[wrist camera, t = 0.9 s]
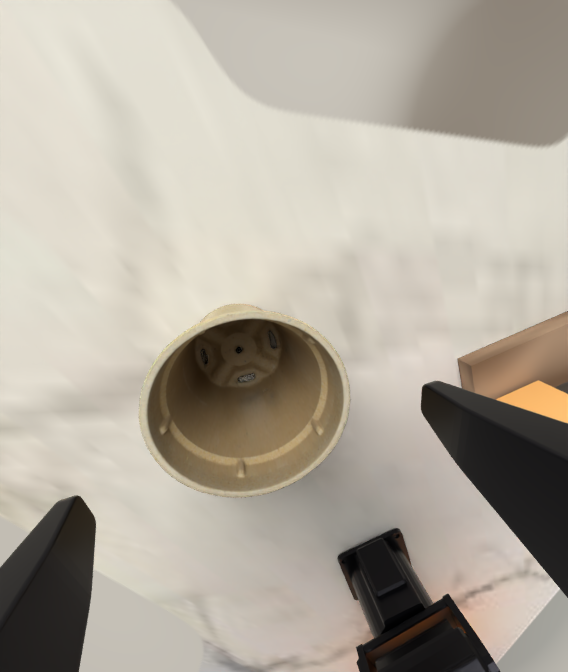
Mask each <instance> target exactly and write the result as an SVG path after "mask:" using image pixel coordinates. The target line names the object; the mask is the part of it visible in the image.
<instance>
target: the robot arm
mask: <svg viewBox="0 0 568 672" xmlns="http://www.w3.org/2000/svg"><path fill="white" fill-rule="evenodd" d="M421 411H422V413H423V415H424V417H425V419H426V420H427V421H428V423H429V424H430V426H431V427H432V429H433V430H434V432H435V433H436V435H437V436H438V438H439V439H440V441H441V442H442V444H443V445H444V447H445V448H446V450H447V451H448V453H449V454H450V455H451V457H452V458H453V460H454V461H455V462H456V464H457V465H458V466H459V467H460V469H461V470H462V471H463V472H464V473H465V475H466V476H467V477H468V478H469V480H470V481H471V482H472V483H473V484H474V486H475V487H476V488H477V489H478V490H479V492H480V493H481V494H482V495H483V496H484V498H485V499H486V500H487V501H488V502H489V504H490V505H491V506H492V507H493V508H494V510H495V511H496V512H497V513H498V514H499V516H500V517H501V518H502V519H503V520H504V522H505V523H506V524H507V525H508V526H509V528H510V529H511V530H512V531H513V532H514V534H515V535H516V536H517V537H518V538H519V540H520V541H521V542H522V543H523V544H524V546H525V547H526V548H527V549H528V551H529V552H530V553H531V554H532V555H533V557H534V558H535V559H536V560H537V561H538V563H539V564H540V565H541V566H542V567H543V569H544V570H545V571H546V572H547V573H548V575H549V576H550V577H551V578H552V579H553V581H554V582H555V583H556V584H557V585H558V587H559V588H560V589H561V590H562V591H563V593H564V594H565V595H566V596H567V597H568V423H565V422H562V421H559V420H556V419H553V418H550V417H547V416H544V415H541V414H538V413H535V412H532V411H529V410H526V409H523V408H520V407H517V406H514V405H510V404H507V403H504V402H501V401H498V400H495V399H492V398H489V397H486V396H483V395H480V394H477V393H474V392H471V391H468V390H465V389H462V388H459V387H456V386H453V385H450V384H447V383H444V382H440V381H433V382H430V383H427V384H425V385H423V387H422V396H421ZM95 533H96V521H95V518H94V515H93V514H92V512H91V511H90V509H89V508H88V506H87V505H86V503H85V502H84V501H83V499H82V498H81V497H80V496H78V495H77V496H72V497H69V498H66V499H62V500H60V501H58V502H57V503H56V504H55V505H54V506H53V507H52V508H51V509H50V511H49V512H48V513H47V514H46V515H45V516H44V518H43V519H42V520H41V521H40V522H39V523H38V524H37V526H36V527H35V528H34V529H33V530H32V531H31V533H30V534H29V535H28V536H27V537H26V538H25V540H24V541H23V542H22V543H21V544H20V545H19V546H18V548H17V549H16V550H15V551H14V552H13V553H12V555H11V556H10V557H9V558H8V559H7V560H6V562H5V563H4V564H3V565H2V566H1V567H0V672H79V667H80V661H81V655H82V649H83V643H84V637H85V630H86V625H87V619H88V613H89V607H90V600H91V591H92V578H93V564H94V548H95ZM338 561H339V564H340V566H341V569H342V571H343V574H344V576H345V578H346V581H347V583H348V585H349V588H350V590H351V593H352V595H353V597H354V599H355V600H359V602H360V605H361V607H362V610H363V612H364V615H365V617H366V620H367V622H368V625H369V627H370V630H371V632H372V635H373V637H374V639H372V640H371V641H369V642H367V643H365V644H364V645H362V644H361V645H359V646H357V647H356V649H357V652H358V656H359V659H358V661H357V665H358V668H359V671H360V672H500V670H499V668H498V667H497V665H496V664H495V662H494V660H493V659H492V657H491V656H490V654H489V652H488V651H487V649H486V648H485V646H484V645H483V643H482V642H481V640H480V639H479V637H478V636H477V635H476V633H475V632H474V630H473V629H472V627H471V626H470V625H469V623H468V622H467V620H466V619H465V617H464V616H463V614H462V613H461V612H460V610H459V609H458V607H457V606H456V604H455V603H454V601H453V600H452V599H451V597H450V596H449V594H446V595H445V596H443V598H442V599H441V600H439V601H437V602H436V603H434V604H433V602H432V600H431V599H430V597H429V595H428V593H427V592H426V590H425V588H424V587H423V585H422V583H421V582H420V580H419V578H418V577H417V575H416V573H415V571H414V570H413V568H412V566H411V562H410V559H409V556H408V552H407V549H406V545H405V542H404V539H403V535H402V533H401V531H400V530H399V529H393V530H391V531H389V532H387V533H385V534H383V535H381V536H378V537H376V538H374V539H372V540H370V541H368V542H366V543H364V544H361V545H359V546H357V547H355V548H353V549H351V550H349V551H347V552H344V553H342V554H341V555H339V556H338Z"/></svg>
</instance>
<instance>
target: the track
mask: <svg viewBox="0 0 568 672" xmlns="http://www.w3.org/2000/svg"><path fill="white" fill-rule="evenodd" d="M458 363H459V370H460V376H461V382H462V389H465V390H468V391H471V392H474V393H477V394H480V395H483V396H486V397H489V398H492V399H498V398H500V397H502V396H504V395H507V394H509V393H511V392H513V391H515V390H518V389H520V388H522V387H524V386H527V385H529V384H531V383H533V382H536V381H538V380H539V381H541V382H543V383H545V384H548V385H550V386H552V387H554V388H556V389H558V390H560V391H562V392H565V393H567V394H568V311H567V312H565V313H562V314H560V315H558V316H555V317H553V318H551V319H549V320H546V321H544V322H542V323H539V324H537V325H535V326H532V327H530V328H528V329H525V330H523V331H521V332H518V333H516V334H514V335H511V336H509V337H507V338H505V339H502V340H500V341H498V342H495V343H493V344H491V345H488V346H486V347H484V348H481V349H479V350H477V351H474V352H472V353H470V354H467V355H465V356H463V357H461V358H458Z"/></svg>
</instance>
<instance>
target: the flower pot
mask: <svg viewBox="0 0 568 672" xmlns="http://www.w3.org/2000/svg"><path fill="white" fill-rule="evenodd" d="M270 331H271V332H272V334H273V335H274V337H275V340H276V348H274V349H273V348H272V347H271V346H270V338H269V335H268V332H270ZM237 347H241V348H242V352H241V353H237V352H236V348H237ZM202 349H204V350H205V353H206V355H208V356H207V361H208V363H207V364H204V361H203V358H202V356H201V351H202ZM252 373H253V374H254V375H255V378H254V379H253V380H250V381H243V382H239V381H238V378H239V377H242V376H245V375H249V374H252ZM349 405H350V387H349V381H348V377H347V373H346V370H345V367H344V364H343V362H342V360H341V358H340V357H339V355H338V353H337V352H336V350H335V349H334V348H333V346H332V345H331V344H330V343H329V342H328V341H327V340H326V339H325V338H324V337H323V336H322V335H321V334H320V333H319V332H318V331H316V330H315V329H314V328H312V327H311V326H309V325H308V324H306V323H304V322H302V321H300V320H298V319H295V318H293V317H290V316H287V315H284V314H280V313H276V312H269V311H263V310H261V309H259V308H257V307H254V306H251V305H246V304H231V305H226V306H223V307H220V308H218V309H216V310H214V311H213V312H211V313H209V314H208V315H207V316H206V317H205V318H204V319H203V320H202V321H201V322H200V323H199V324H197V325H195V326H193V327H191V328H190V329H188V330H187V331H185V332H184V333H182V334H181V335H180V336H178V337H177V338H176V339H175V340H173V341H172V342H171V343H170V344H169V345H168V346H167V347H166V348H165V349H164V350H163V351H162V352H161V354H160V355H159V356H158V358H157V359H156V360H155V362H154V363H153V365H152V367H151V369H150V370H149V372H148V375H147V377H146V379H145V382H144V385H143V387H142V391H141V396H140V402H139V422H140V427H141V433H142V436H143V438H144V442H145V444H146V446H147V448H148V449H149V451H150V454H151V455H152V456H153V457H154V459H155V460H156V461H157V463H158V464H159V465H160V466H161V467H162V468H163V470H165V471H166V472H167V473H168V474H169V475H170V476H171V477H173V478H175V479H176V480H177V481H179V482H180V483H182V484H184V485H186V486H187V487H191V488H193V489H194V490H197V491H200V492H203V493H207V494H211V495H215V496H223V497H233V498H235V497H240V498H242V497H252V496H259V495H263V494H267V493H271V492H274V491H276V490H279V489H281V488H284V487H286V486H288V485H290V484H292V483H294V482H296V481H298V480H300V479H301V478H303V477H304V476H305V475H307V474H308V473H309V472H310V471H311V470H313V469H315V468H316V467H317V466H318V465H319V464H320V463H322V461H323V460H325V459H326V458H327V456H328V455H329V454H330V452H331V451H332V450H333V448H334V447H335V445H336V444H337V442H338V441H339V439H340V436H341V435H342V432H343V430H344V427H345V425H346V422H347V418H348V414H349Z"/></svg>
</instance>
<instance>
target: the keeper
mask: <svg viewBox="0 0 568 672" xmlns="http://www.w3.org/2000/svg"><path fill="white" fill-rule="evenodd" d="M495 400H498V401H501V402H504V403H507V404H510V405H514V406H517V407H520V408H523V409H526V410H529V411H532V412H535V413H538V414H541V415H544V416H547V417H550V418H553V419H556V420H559V421H562V422H565V423H568V394H567V393H565V392H562V391H560V390H558V389H556V388H554V387H552V386H550V385H548V384H545V383H543V382H541V381H539V380H538V381H536V382H533V383H531V384H529V385H527V386H524V387H522V388H520V389H518V390H515V391H513V392H511V393H509V394H507V395H504V396H502V397H500V398H498V399H495Z"/></svg>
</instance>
